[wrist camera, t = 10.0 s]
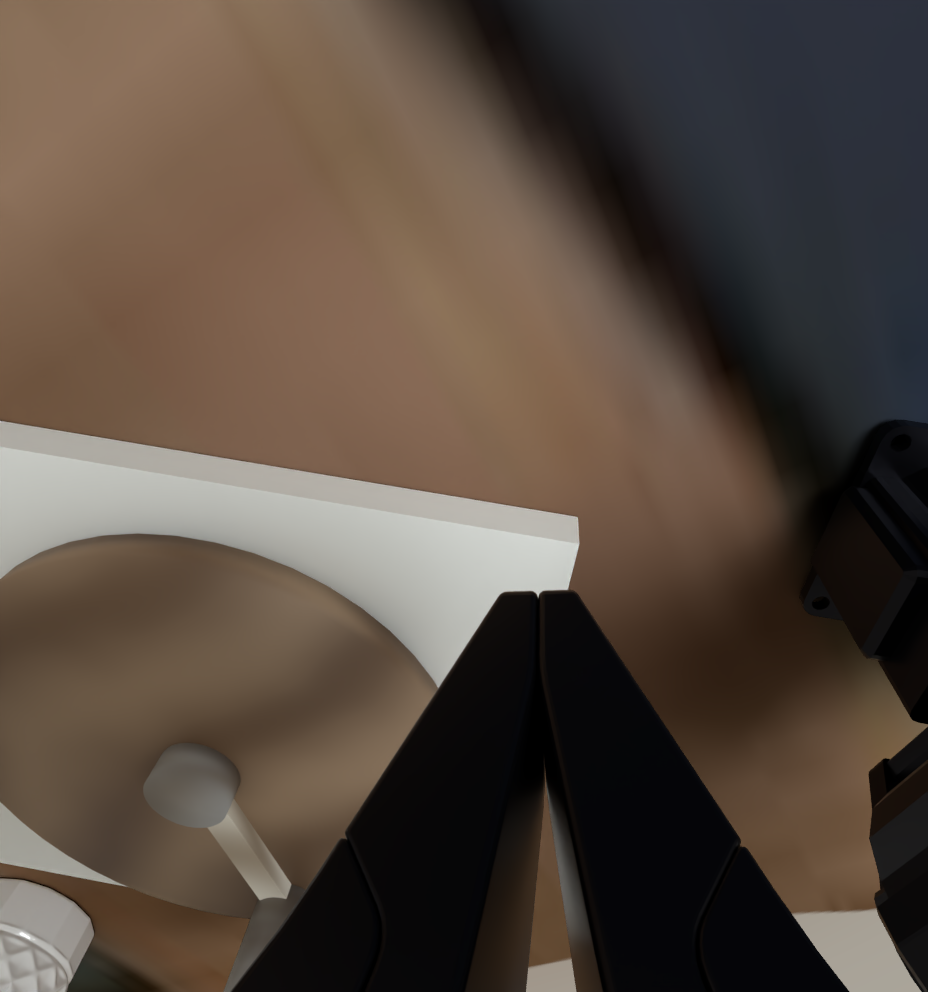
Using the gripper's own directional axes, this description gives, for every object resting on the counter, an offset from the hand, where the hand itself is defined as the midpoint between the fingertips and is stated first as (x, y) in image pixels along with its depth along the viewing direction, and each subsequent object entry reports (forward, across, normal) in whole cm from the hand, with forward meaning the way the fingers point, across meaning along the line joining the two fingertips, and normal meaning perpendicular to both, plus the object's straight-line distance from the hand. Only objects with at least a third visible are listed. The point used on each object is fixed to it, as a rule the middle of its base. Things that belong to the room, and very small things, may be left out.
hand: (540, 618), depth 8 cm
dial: (+10, +13, +15) cm, 22 cm away
